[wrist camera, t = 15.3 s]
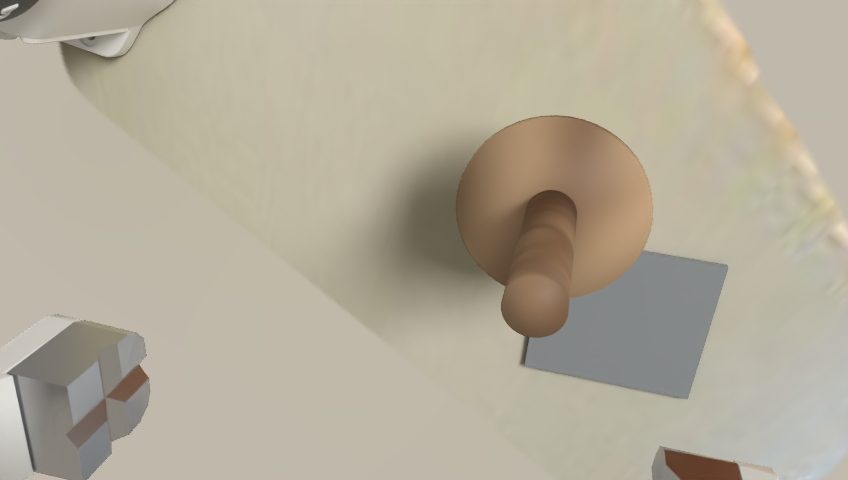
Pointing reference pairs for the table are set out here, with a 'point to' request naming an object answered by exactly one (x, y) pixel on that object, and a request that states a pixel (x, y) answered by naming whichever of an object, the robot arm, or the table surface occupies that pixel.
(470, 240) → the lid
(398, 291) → the table surface
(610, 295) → the mat
